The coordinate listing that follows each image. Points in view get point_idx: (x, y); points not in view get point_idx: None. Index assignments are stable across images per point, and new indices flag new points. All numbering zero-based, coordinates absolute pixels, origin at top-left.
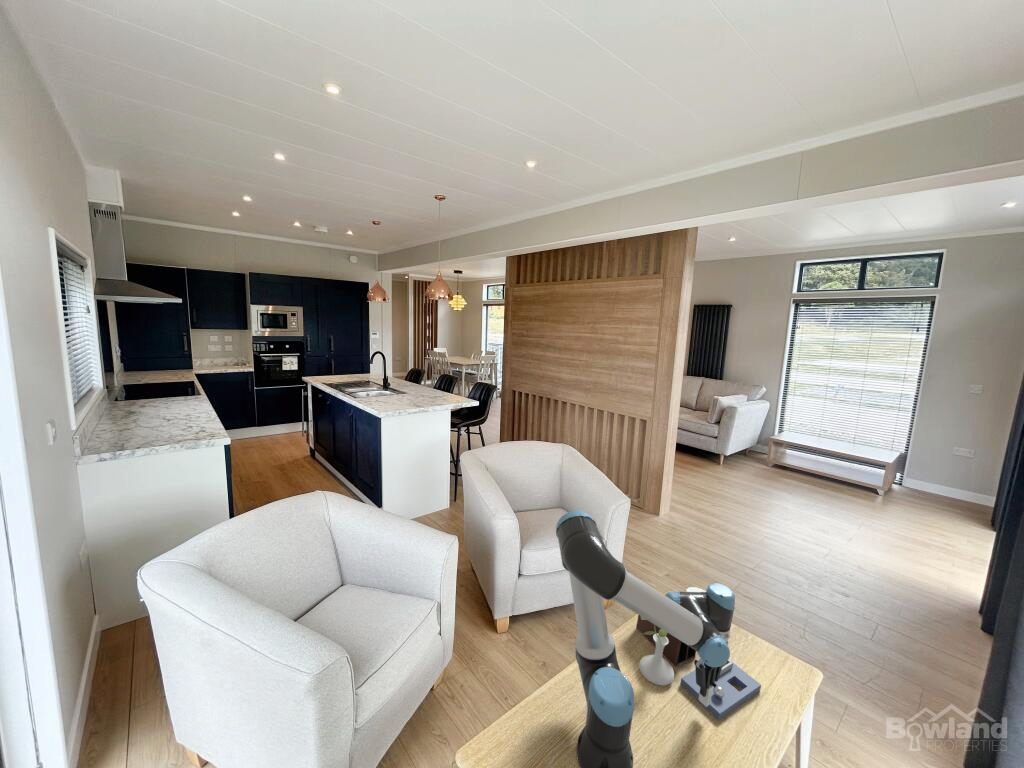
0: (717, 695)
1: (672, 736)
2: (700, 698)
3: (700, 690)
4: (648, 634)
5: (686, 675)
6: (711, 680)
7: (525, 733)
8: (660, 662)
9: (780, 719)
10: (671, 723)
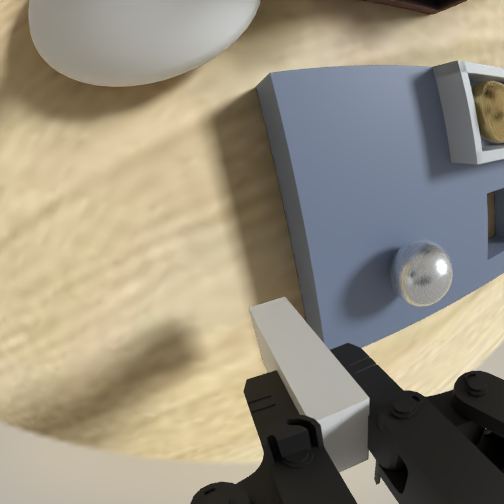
0: (397, 292)
1: (25, 365)
2: (258, 330)
3: (251, 412)
4: None
5: (321, 71)
6: (398, 498)
7: None
8: None
9: (489, 339)
10: (41, 313)
